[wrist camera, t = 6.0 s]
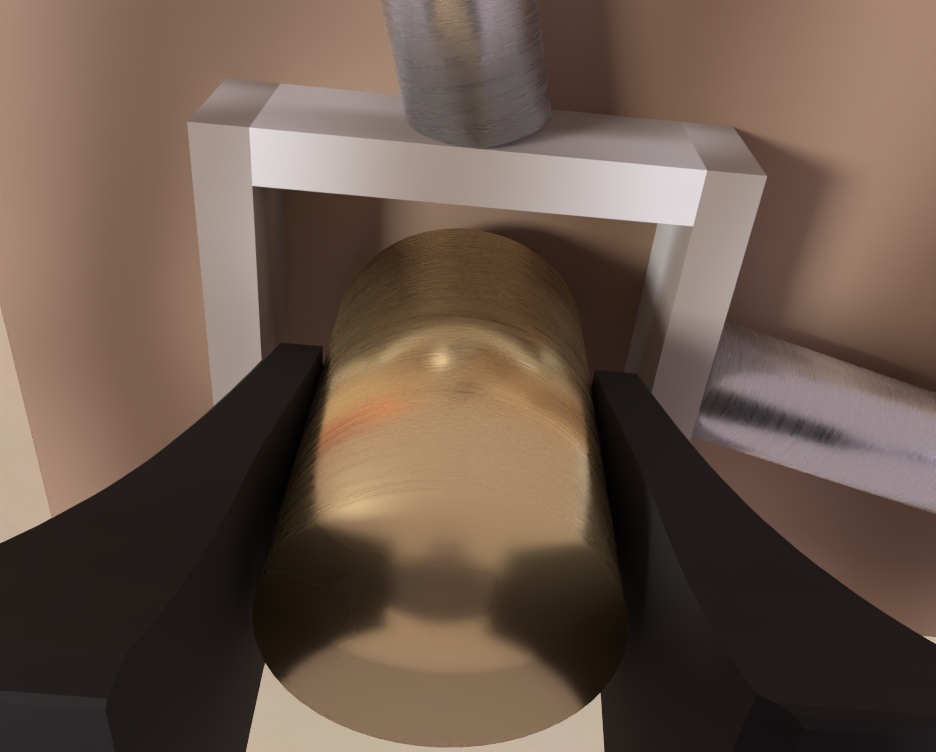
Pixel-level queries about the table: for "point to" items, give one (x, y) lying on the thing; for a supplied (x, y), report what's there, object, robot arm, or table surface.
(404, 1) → the shaft
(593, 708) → the table surface
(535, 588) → the brass cylinder
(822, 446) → the shaft
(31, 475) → the table surface
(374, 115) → the plate
